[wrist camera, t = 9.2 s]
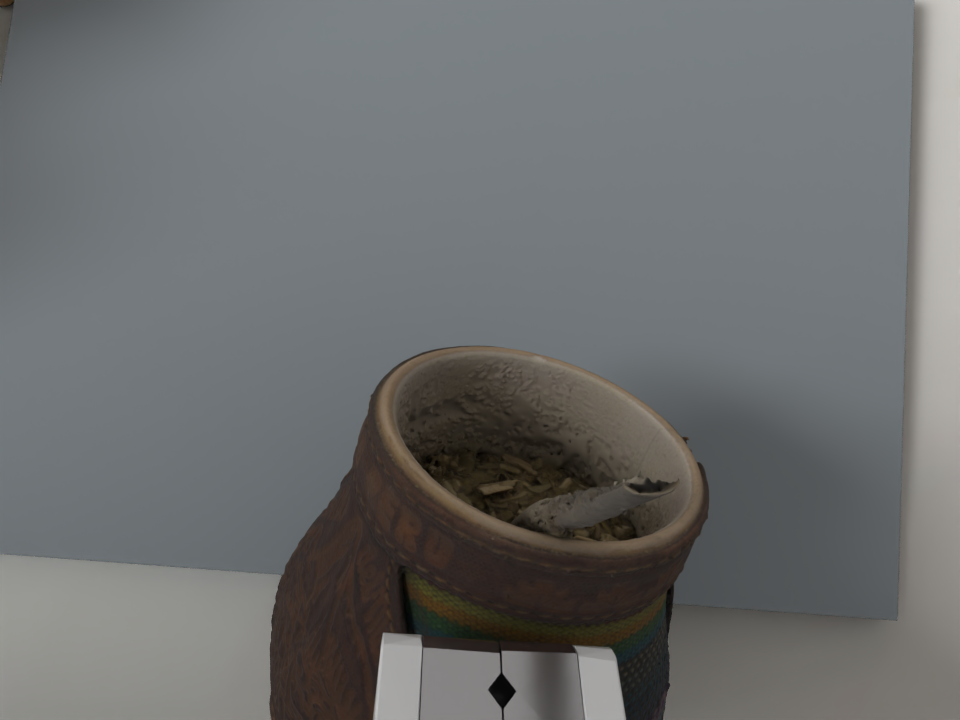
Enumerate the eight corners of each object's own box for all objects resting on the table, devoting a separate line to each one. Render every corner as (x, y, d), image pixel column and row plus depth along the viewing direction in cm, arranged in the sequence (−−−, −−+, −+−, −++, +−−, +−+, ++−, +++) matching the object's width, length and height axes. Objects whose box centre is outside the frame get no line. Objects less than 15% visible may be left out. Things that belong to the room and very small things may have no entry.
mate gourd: (542, 614, 21) (687, 248, 17) (676, 940, 15) (967, 499, 10) (245, 618, 19) (318, 190, 14) (257, 1012, 12) (395, 473, 8)
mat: (-62, 545, 19) (-77, 547, 18) (48, -124, 21) (37, -142, 20) (882, 615, 21) (897, 620, 20) (900, 4, 23) (914, -8, 22)
